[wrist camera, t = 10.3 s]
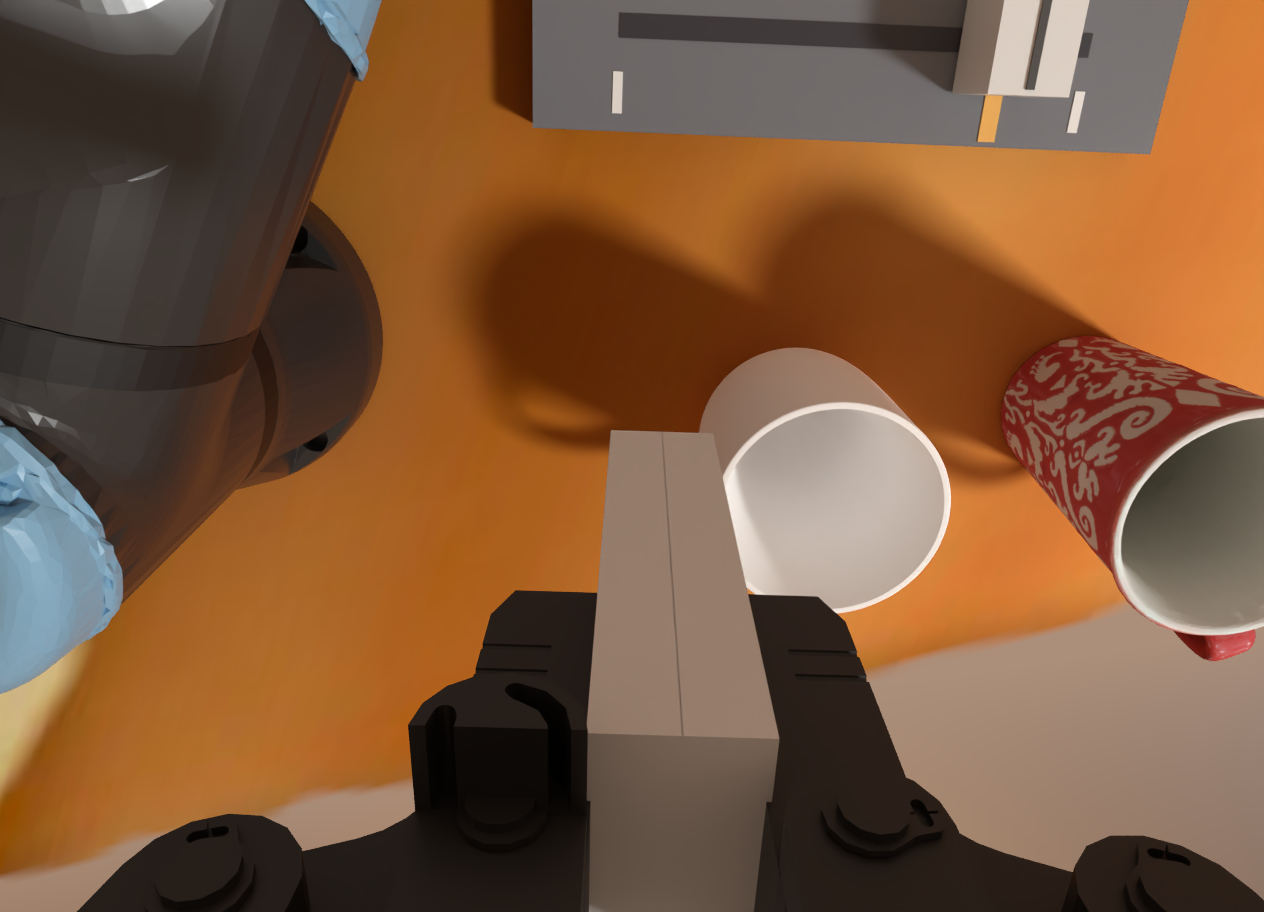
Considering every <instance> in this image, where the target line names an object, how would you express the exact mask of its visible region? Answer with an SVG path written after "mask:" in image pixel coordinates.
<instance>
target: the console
mask: <svg viewBox="0 0 1264 912" xmlns="http://www.w3.org/2000/svg"><path fill="white" fill-rule="evenodd" d="M1188 2H1189V0H1090V1H1089V5H1088V10H1087V15H1086V19H1085V24H1084V29H1083V34H1082V38H1081V43H1080V48H1079V52H1078V57H1077V62H1076V66H1075V71H1074V76H1073V80H1072V85H1071V90H1070V94H1069V98H1067V97H1014V96H991V95H968V94H952V91H953V85H954V79H955V73H956V66H957V60H958V54H959V48H960V42H961V36H962V30H963V24H964V18H965V12H966V6H967V0H532V16H533V128H553V129H576V130H600V131H623V132H646V133H669V134H693V135H716V136H739V137H763V138H786V139H809V140H832V141H856V142H879V143H902V144H926V145H949V146H972V147H995V148H1019V149H1042V150H1065V151H1089V152H1112V153H1135V154H1150V152H1151V148H1152V144H1153V140H1154V137H1155V133H1156V129H1157V125H1158V121H1159V117H1160V113H1161V109H1162V105H1163V101H1164V97H1165V93H1166V89H1167V85H1168V81H1169V77H1170V73H1171V69H1172V65H1173V61H1174V57H1175V53H1176V49H1177V45H1178V41H1179V37H1180V33H1181V29H1182V25H1183V22H1184V18H1185V14H1186V10H1187V6H1188Z"/></svg>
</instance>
